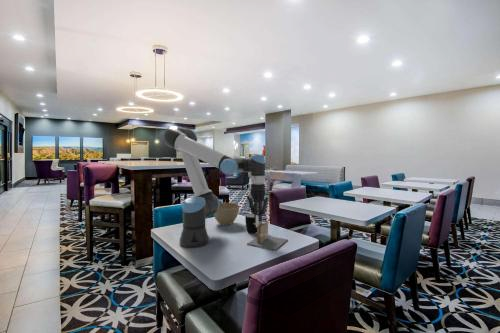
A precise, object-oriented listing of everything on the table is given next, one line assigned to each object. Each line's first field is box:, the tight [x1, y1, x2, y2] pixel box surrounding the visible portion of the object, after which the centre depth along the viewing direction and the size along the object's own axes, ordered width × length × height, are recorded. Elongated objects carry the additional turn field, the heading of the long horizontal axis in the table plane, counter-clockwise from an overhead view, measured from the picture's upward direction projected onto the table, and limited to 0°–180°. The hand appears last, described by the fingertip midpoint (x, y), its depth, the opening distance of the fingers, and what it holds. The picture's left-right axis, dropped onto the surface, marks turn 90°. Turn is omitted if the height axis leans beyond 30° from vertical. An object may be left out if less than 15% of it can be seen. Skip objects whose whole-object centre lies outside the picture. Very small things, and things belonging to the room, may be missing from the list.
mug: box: [244, 212, 263, 234], centre depth 149 cm, size 12×9×10 cm
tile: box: [256, 221, 269, 244], centre depth 132 cm, size 2×9×9 cm, turn 151°
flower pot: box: [213, 202, 240, 226], centre depth 164 cm, size 18×18×12 cm
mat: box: [246, 235, 288, 252], centre depth 131 cm, size 16×16×1 cm
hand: (258, 226), depth 133 cm, fingers closed
